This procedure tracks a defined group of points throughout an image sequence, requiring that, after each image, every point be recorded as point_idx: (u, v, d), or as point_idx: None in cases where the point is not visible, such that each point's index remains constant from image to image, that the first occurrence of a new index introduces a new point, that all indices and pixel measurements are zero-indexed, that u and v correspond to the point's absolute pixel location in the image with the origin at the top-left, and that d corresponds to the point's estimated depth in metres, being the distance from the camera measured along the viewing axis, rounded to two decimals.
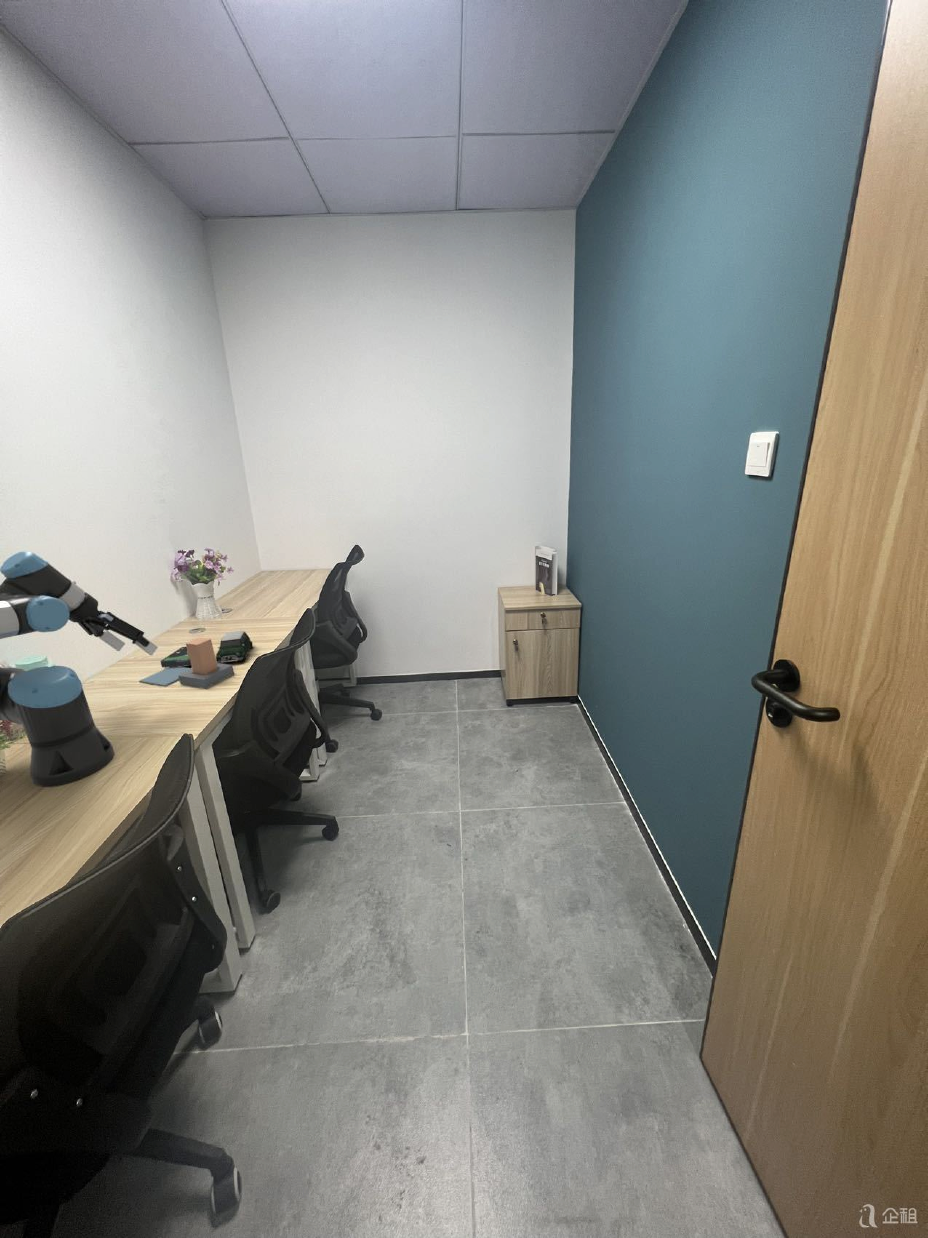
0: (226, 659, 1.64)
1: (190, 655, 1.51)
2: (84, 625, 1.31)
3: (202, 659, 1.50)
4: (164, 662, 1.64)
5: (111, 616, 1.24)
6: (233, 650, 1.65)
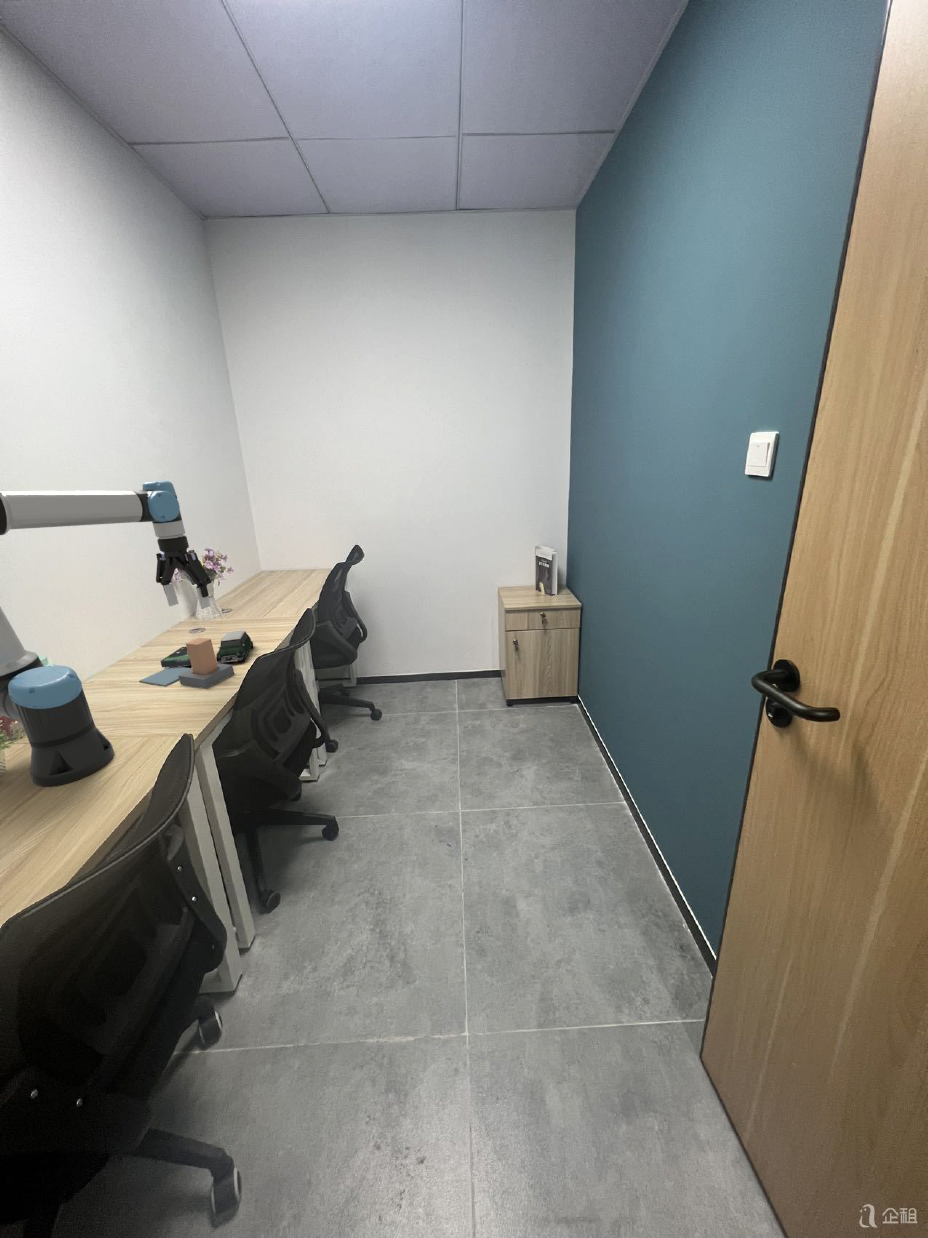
0: (226, 659, 1.64)
1: (190, 655, 1.51)
2: (160, 568, 1.45)
3: (202, 659, 1.50)
4: (164, 662, 1.64)
5: (195, 556, 1.40)
6: (233, 650, 1.65)
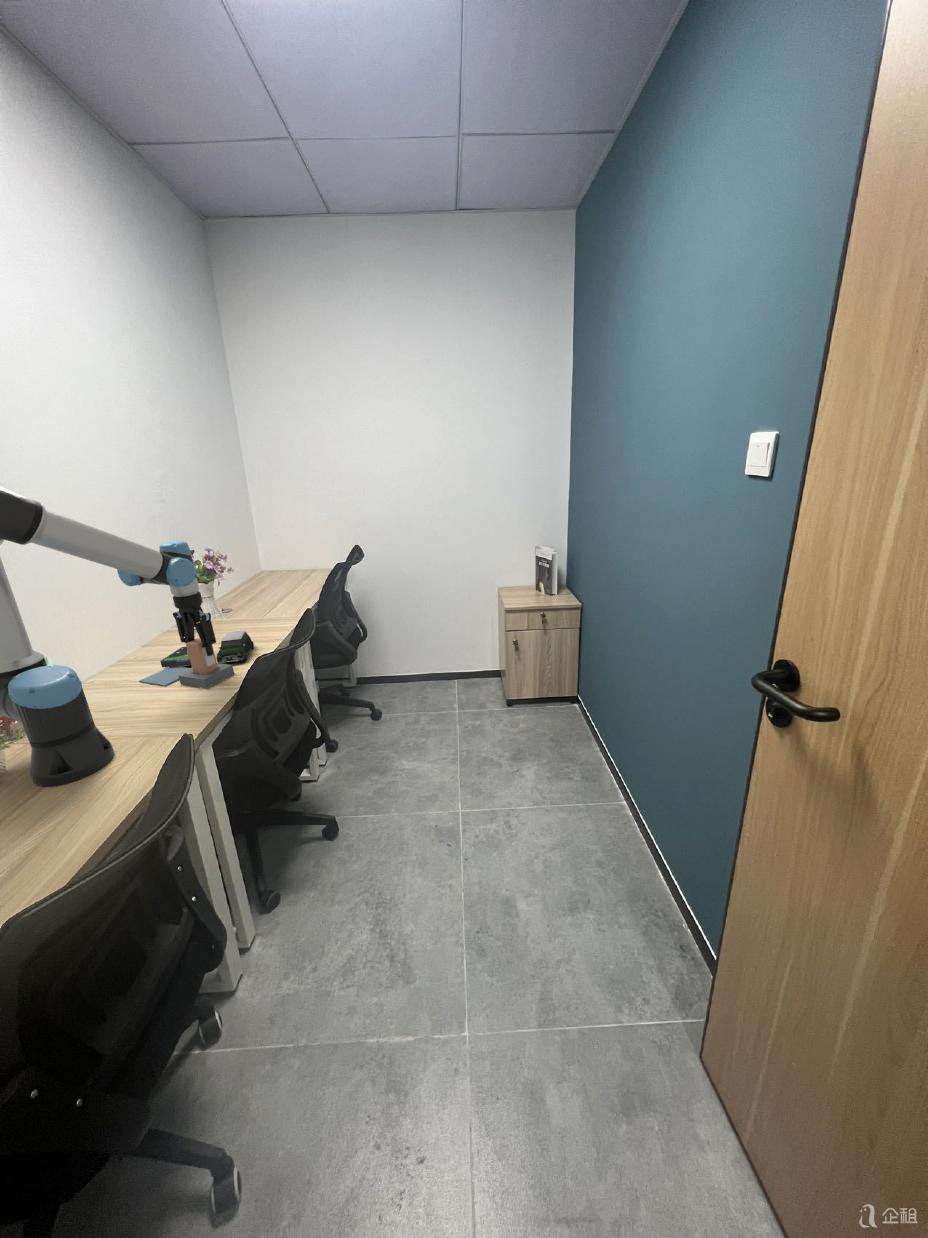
0: (227, 659, 1.64)
1: (190, 655, 1.51)
2: (180, 626, 1.50)
3: (202, 659, 1.50)
4: (164, 662, 1.64)
5: (209, 617, 1.46)
6: (234, 650, 1.65)
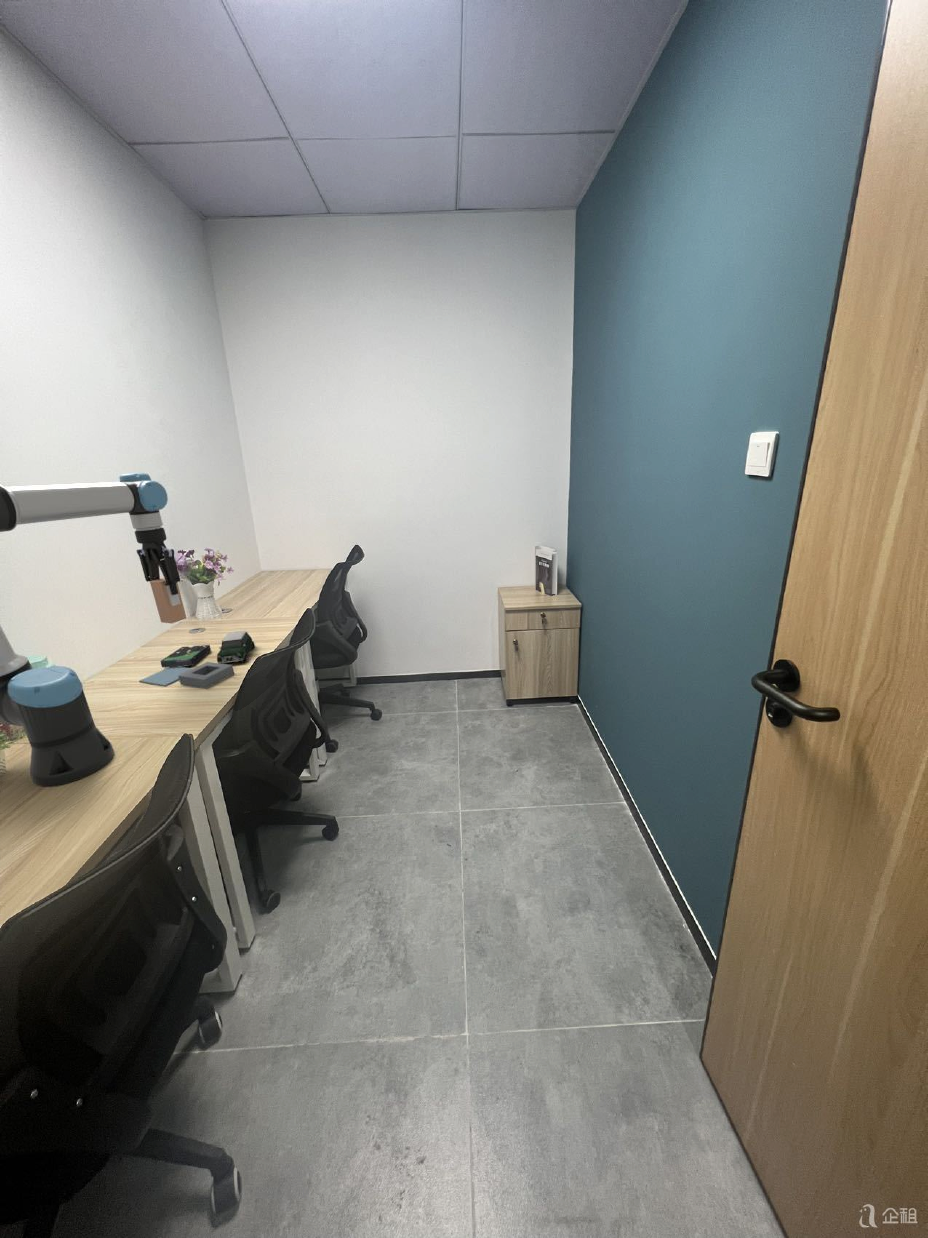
0: (227, 659, 1.63)
1: (154, 594, 1.46)
2: (144, 564, 1.46)
3: (166, 598, 1.45)
4: (164, 662, 1.64)
5: (172, 554, 1.42)
6: (234, 650, 1.65)
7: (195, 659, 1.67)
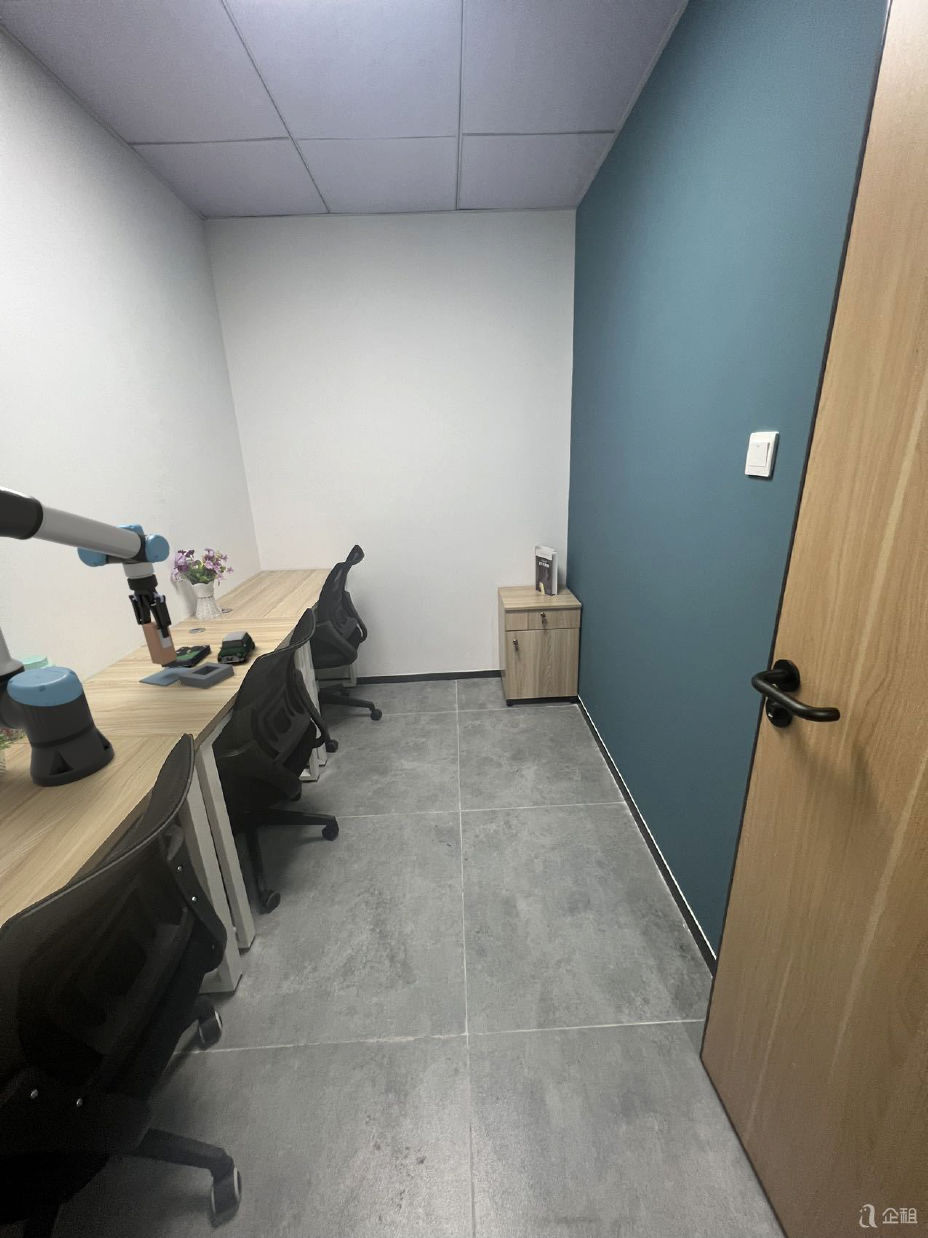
0: (227, 660, 1.63)
1: (146, 637, 1.53)
2: (136, 608, 1.52)
3: (158, 641, 1.52)
4: None
5: (163, 599, 1.48)
6: (234, 651, 1.64)
7: (195, 659, 1.67)
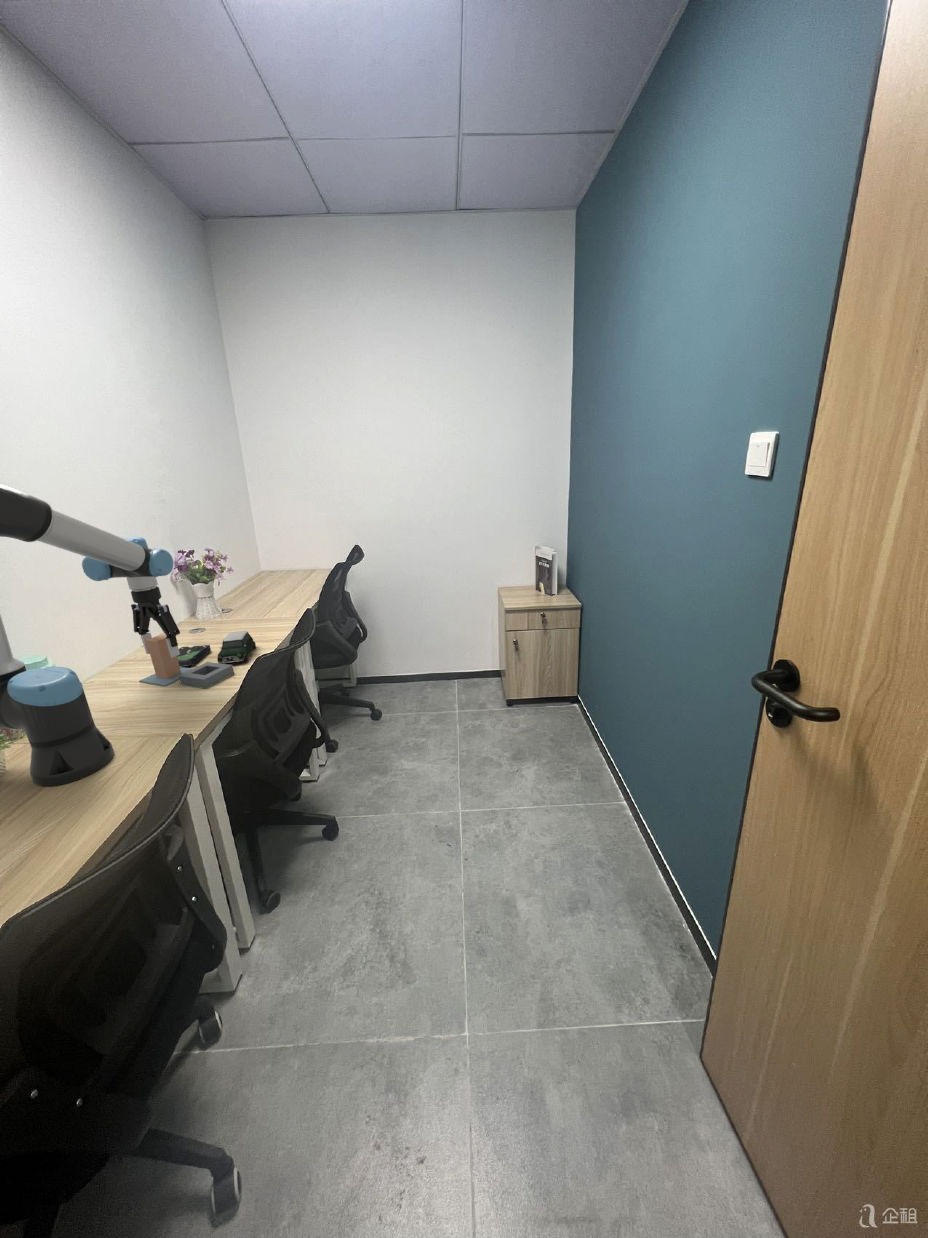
0: (227, 660, 1.63)
1: (150, 651, 1.54)
2: (136, 618, 1.54)
3: (162, 655, 1.53)
4: None
5: (167, 608, 1.49)
6: (234, 651, 1.64)
7: (195, 659, 1.67)
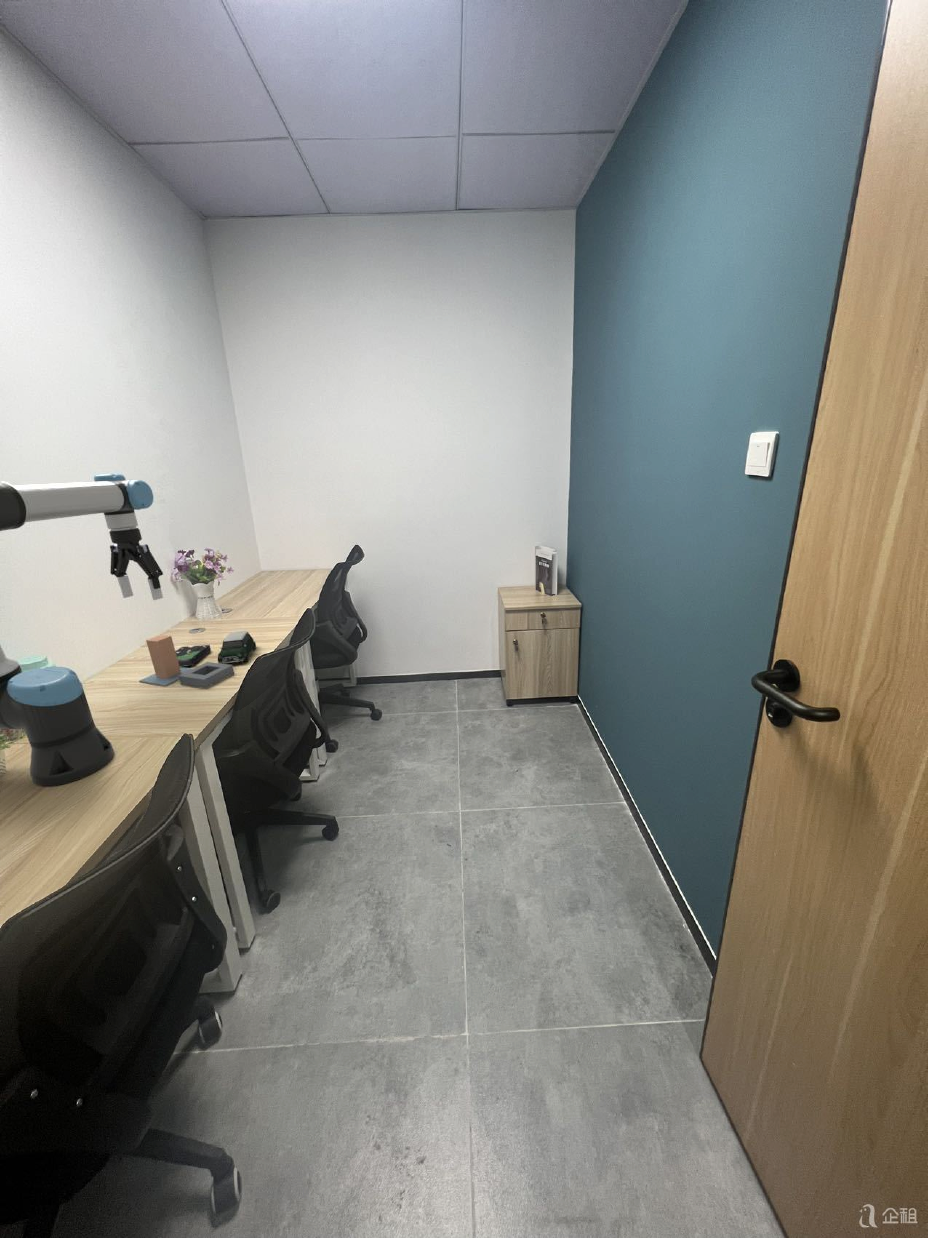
0: (227, 660, 1.63)
1: (150, 651, 1.54)
2: (114, 560, 1.47)
3: (162, 655, 1.53)
4: None
5: (146, 548, 1.43)
6: (234, 651, 1.64)
7: (195, 659, 1.67)
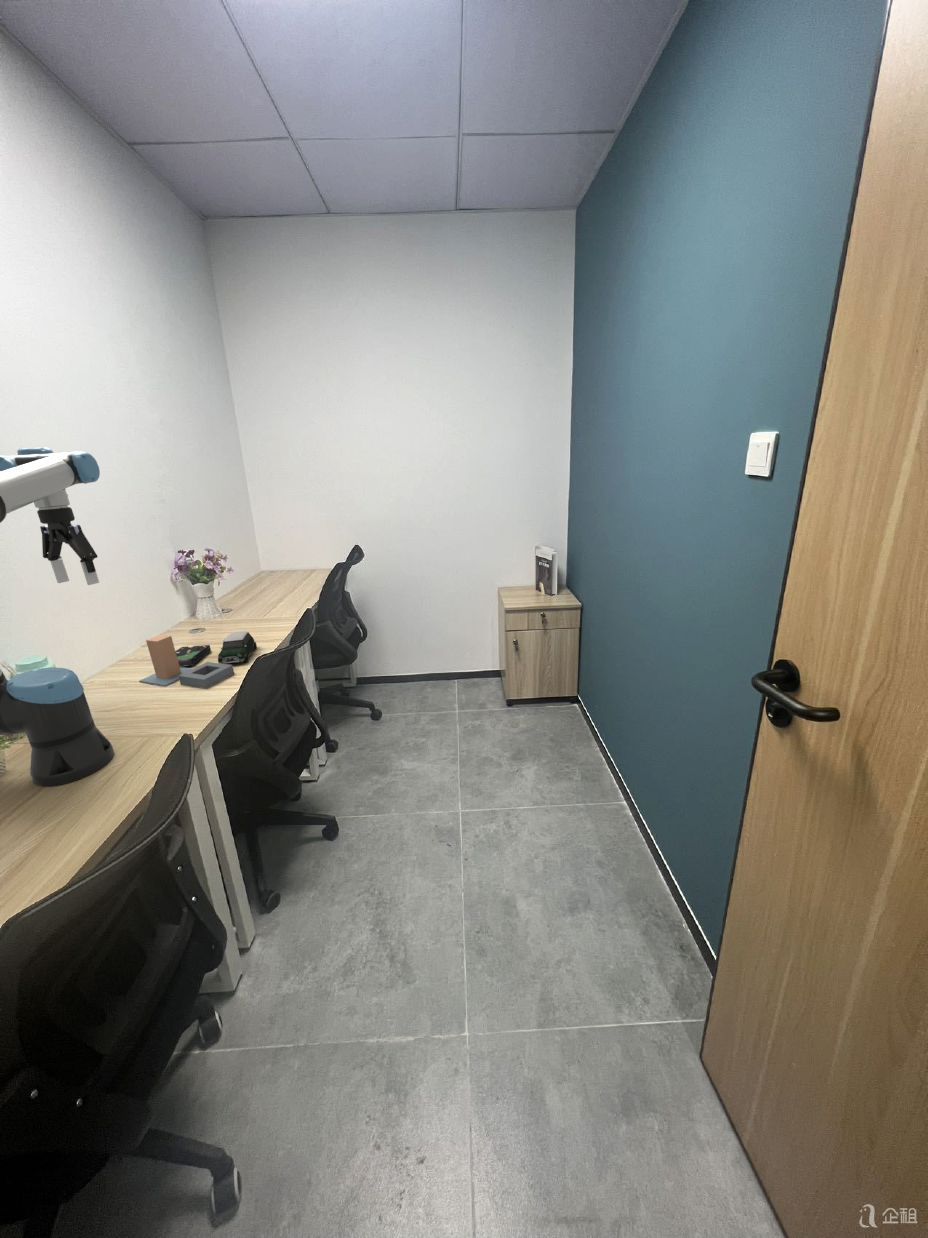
0: (227, 660, 1.63)
1: (150, 651, 1.54)
2: (46, 542, 1.37)
3: (162, 655, 1.53)
4: None
5: (78, 529, 1.32)
6: (235, 651, 1.64)
7: (195, 659, 1.67)
